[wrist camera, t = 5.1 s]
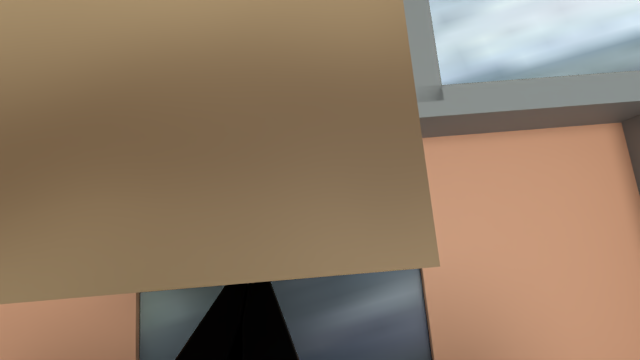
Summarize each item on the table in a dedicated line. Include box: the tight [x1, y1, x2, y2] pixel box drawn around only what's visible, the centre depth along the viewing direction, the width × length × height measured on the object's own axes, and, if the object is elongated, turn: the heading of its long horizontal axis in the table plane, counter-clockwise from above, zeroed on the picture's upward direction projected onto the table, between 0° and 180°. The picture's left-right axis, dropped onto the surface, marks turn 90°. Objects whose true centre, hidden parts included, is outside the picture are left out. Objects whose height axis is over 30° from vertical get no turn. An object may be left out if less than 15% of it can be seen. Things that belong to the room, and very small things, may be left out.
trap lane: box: [0, 0, 640, 360], centre depth 15 cm, size 29×33×5 cm
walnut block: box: [0, 0, 440, 304], centre depth 12 cm, size 15×8×10 cm, turn 5°
